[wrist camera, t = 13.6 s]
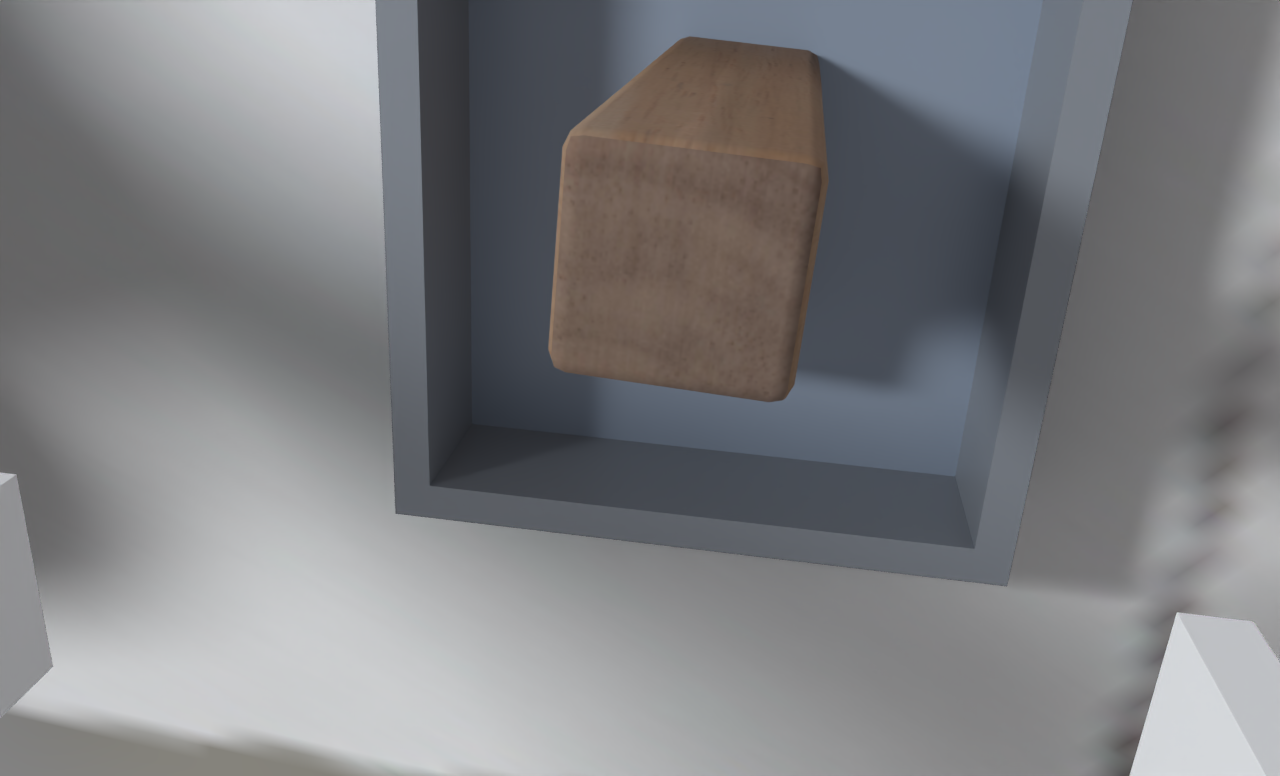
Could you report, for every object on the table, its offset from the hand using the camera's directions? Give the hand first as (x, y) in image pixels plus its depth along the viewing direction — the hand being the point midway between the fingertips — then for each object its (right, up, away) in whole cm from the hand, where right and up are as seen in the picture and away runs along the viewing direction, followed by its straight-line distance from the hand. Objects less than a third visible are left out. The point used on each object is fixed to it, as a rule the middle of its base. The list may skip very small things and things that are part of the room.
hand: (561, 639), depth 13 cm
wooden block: (+4, +10, +24) cm, 26 cm away
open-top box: (+4, +10, +24) cm, 27 cm away
